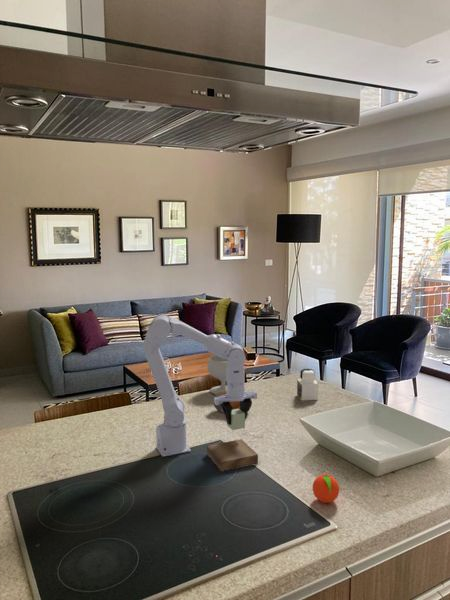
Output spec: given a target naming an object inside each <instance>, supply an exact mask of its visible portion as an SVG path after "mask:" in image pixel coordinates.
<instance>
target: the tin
mask: <svg viewBox="0 0 450 600" xmlns="http://www.w3.org/2000/svg"><path fill="white" fill-rule="evenodd" d="M225 394H227V391H221V392H219V393H217V394H214V397H213V401H212V402H213V407H214V408H215V410H217V412H219V413H222V414H224V411H223V409H222V407H221V405H220V404H219V405H215V404H214V398H215V397H219V396H222V395H225ZM250 400H251V401H252V400H253V399H250ZM252 402H253V401H252ZM230 405H231V406H232V410H234V409H240V403H239V401H234V402H230ZM251 407H252V405H251V406H250V408H249V410H248V412H249V411H250V410H251Z"/></svg>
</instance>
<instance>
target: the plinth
mask: <svg viewBox="0 0 450 600" xmlns="http://www.w3.org/2000/svg"><path fill="white" fill-rule="evenodd" d="M206 454H207V455H206V456H208V458H209V457H210V458H211V459H212V460H211V459H210V458H209V459H210V460H211V462H213V463H214V465H215V464H216V465H217V466H216V465H215V466H216V467H217V468H218V469H219V471H220V470H221V471H222V472H225V471H224V470H227V471H229V470H228V469H232V468H236V469H238V468H237V467H241V466H246V465H250V466H253V465H252V464H255V465H258V463H259V453H257V452H256V451H255V450H254V449H253V448H252V447H250V446H249V445H248V444H247V443H246V442H245V441H244V440H243V439H242V438H240V439H236V440H229V441H226V442H225V441H224V442H220V443H219V442H218V443H215V444H208V445H207V446H206ZM246 467H247V466H246ZM241 468H242V467H241ZM232 470H233V469H232ZM221 471H220V472H221Z"/></svg>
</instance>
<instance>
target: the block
mask: <svg viewBox="0 0 450 600" xmlns="http://www.w3.org/2000/svg"><path fill="white" fill-rule="evenodd" d="M226 426H227V427H228V428H229V429H230V430H232V431H236V430H242V429H245V428H246V420H245V413H244V412H243V411H241V410H240V409H234V410H232V413H231V425H229V424H228V423H227V422H226Z"/></svg>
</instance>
